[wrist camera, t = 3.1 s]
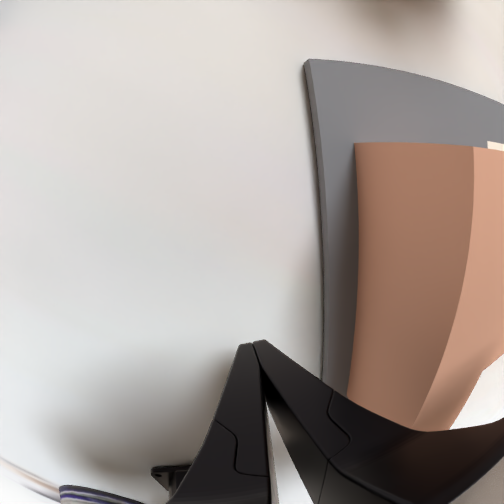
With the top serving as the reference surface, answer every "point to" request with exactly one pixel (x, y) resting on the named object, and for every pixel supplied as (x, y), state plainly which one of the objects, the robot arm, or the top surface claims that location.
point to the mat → (344, 165)
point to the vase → (90, 496)
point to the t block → (427, 278)
